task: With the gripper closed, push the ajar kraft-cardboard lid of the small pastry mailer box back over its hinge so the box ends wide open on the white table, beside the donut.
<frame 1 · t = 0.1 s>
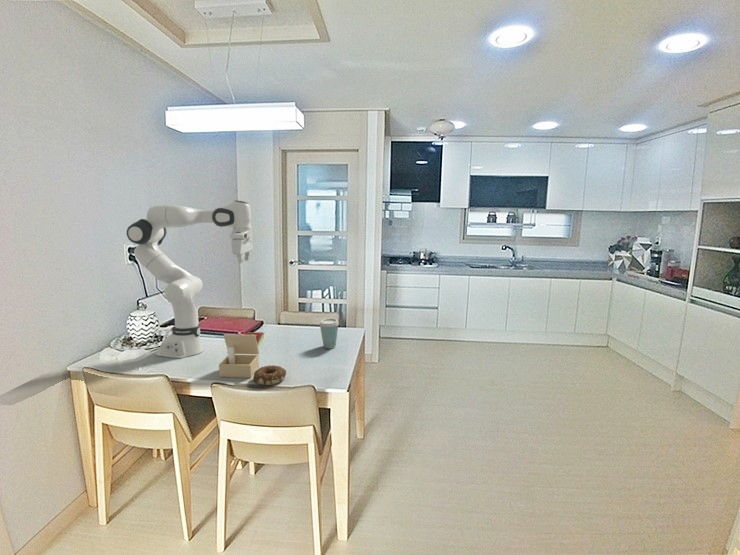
hand: (243, 261, 195), 48 cm above the table, fingers open, 8 cm apart
mailer box: (239, 372, 180), on the table
lid: (241, 344, 181), point 12 cm above the table, hinge at 66.0°
disposable coffee cup: (329, 346, 215), on the table
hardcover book: (250, 345, 216), on the table
donut: (270, 380, 173), on the table
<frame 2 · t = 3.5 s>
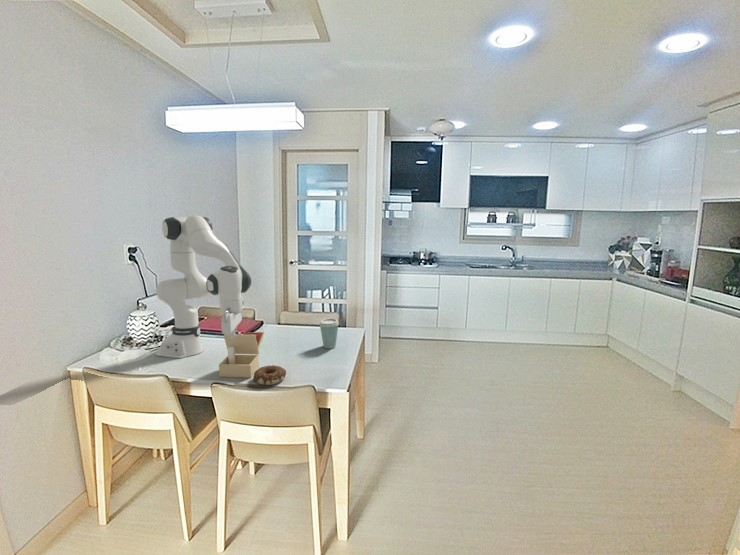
hand: (233, 337, 164), 21 cm above the table, fingers closed
nothing on the table moved.
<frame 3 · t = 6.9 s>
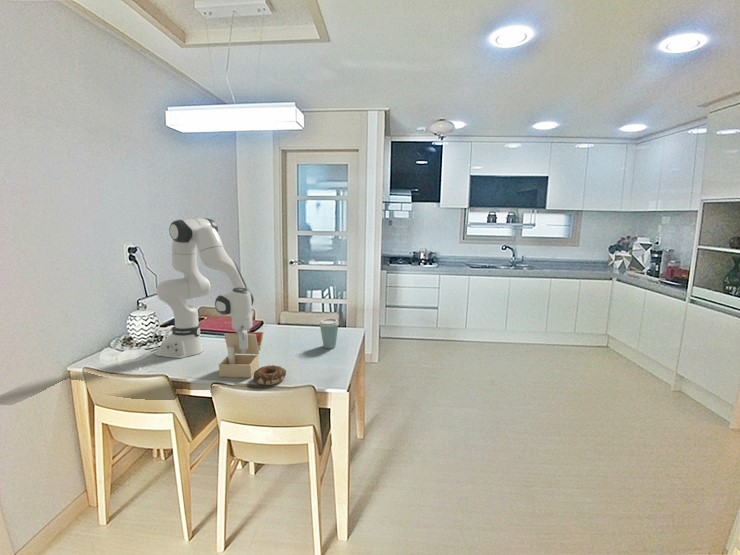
hand: (243, 352, 179), 9 cm above the table, fingers closed
lid: (241, 343, 182), point 12 cm above the table, hinge at 69.2°, touching gripper
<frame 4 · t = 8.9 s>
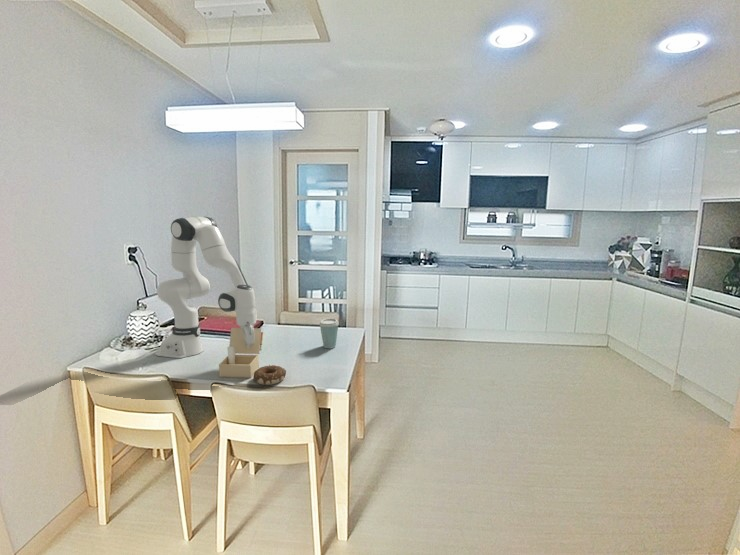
hand: (248, 347, 185), 9 cm above the table, fingers closed, pressing on lid
lid: (245, 340, 186), point 12 cm above the table, hinge at 112.5°, touching gripper
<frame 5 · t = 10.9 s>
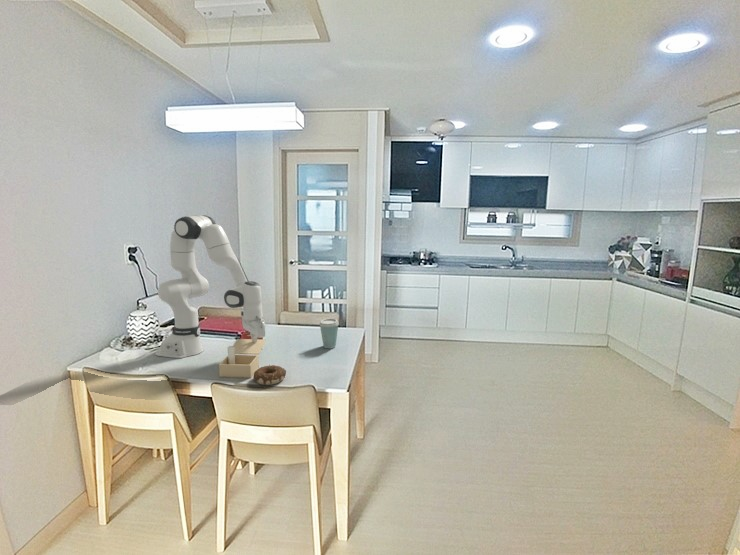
hand: (254, 341, 194), 9 cm above the table, fingers closed
lid: (247, 346, 191), point 8 cm above the table, hinge at 165.5°, touching gripper
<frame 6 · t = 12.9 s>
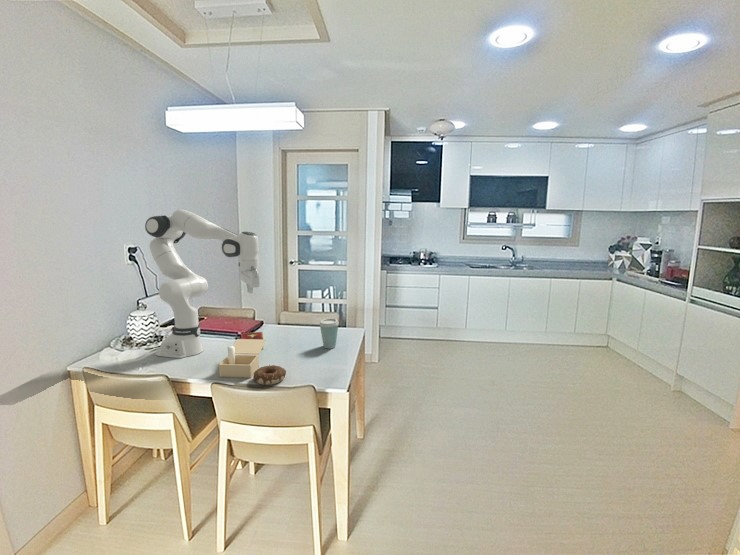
hand: (250, 292, 194), 33 cm above the table, fingers closed
lid: (247, 346, 191), point 8 cm above the table, hinge at 165.5°
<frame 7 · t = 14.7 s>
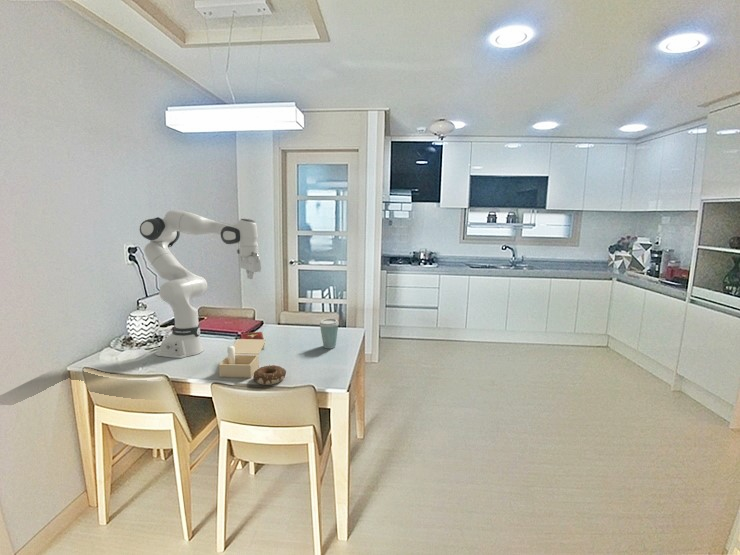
hand: (250, 278, 199), 39 cm above the table, fingers closed
at the end: lid at +166° (first picture: +66°) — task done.
